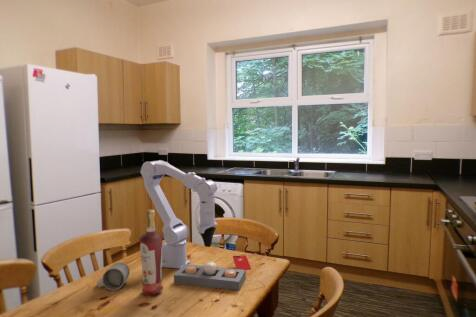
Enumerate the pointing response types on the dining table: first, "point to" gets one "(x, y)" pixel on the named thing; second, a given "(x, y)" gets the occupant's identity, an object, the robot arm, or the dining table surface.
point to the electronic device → (241, 262)
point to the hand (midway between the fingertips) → (207, 246)
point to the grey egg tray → (210, 278)
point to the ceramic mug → (115, 276)
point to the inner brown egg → (190, 270)
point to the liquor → (151, 257)
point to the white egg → (210, 268)
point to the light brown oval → (230, 274)
